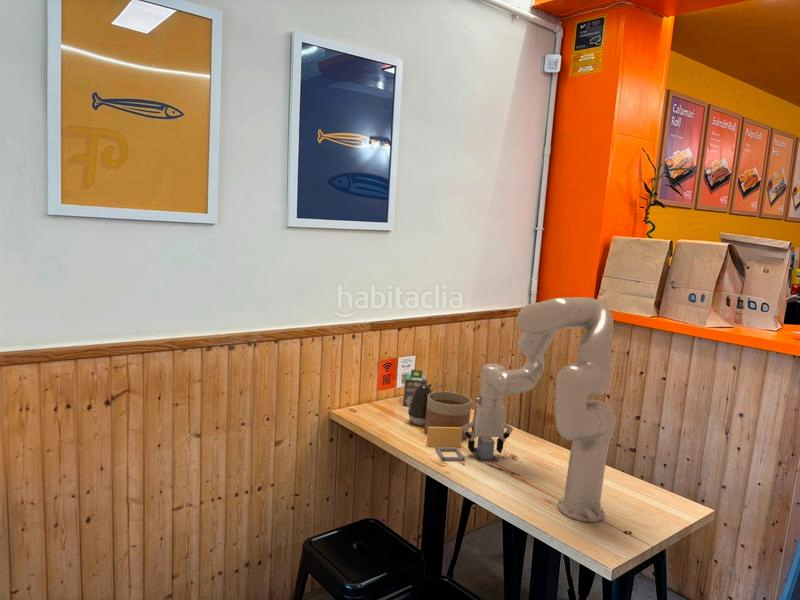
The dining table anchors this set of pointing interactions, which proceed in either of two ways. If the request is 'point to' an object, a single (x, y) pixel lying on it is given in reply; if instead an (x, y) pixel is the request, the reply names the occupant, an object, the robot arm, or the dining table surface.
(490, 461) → the dark grey lipped plate
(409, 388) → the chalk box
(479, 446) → the plug
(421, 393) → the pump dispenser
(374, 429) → the dining table surface
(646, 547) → the dining table surface
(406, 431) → the dining table surface
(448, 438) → the port
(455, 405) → the planter
